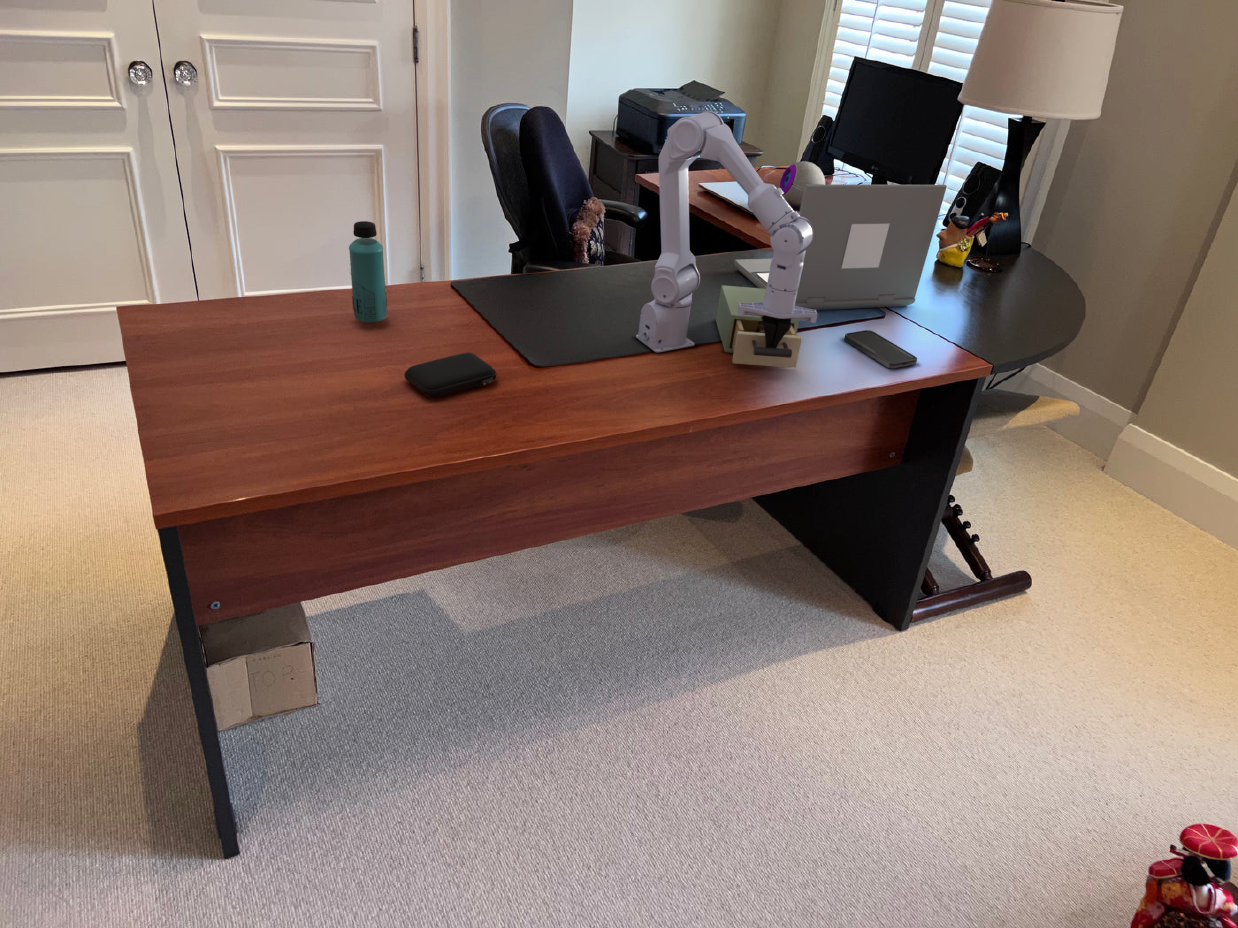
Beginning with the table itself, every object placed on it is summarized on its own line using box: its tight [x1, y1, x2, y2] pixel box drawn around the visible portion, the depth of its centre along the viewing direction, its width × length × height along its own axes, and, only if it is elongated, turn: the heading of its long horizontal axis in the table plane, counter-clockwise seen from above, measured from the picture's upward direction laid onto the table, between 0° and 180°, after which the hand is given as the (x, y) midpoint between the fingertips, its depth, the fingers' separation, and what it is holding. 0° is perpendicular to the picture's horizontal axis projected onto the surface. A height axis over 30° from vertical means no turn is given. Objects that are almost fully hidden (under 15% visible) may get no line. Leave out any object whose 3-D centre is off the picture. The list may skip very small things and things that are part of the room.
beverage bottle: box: [348, 220, 388, 323], centre depth 172 cm, size 6×7×20 cm
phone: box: [843, 329, 918, 370], centre depth 189 cm, size 8×1×15 cm
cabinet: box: [715, 284, 800, 354], centre depth 187 cm, size 16×14×8 cm
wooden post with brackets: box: [755, 321, 765, 333], centre depth 180 cm, size 2×8×4 cm, turn 9°
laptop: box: [733, 183, 948, 311], centre depth 210 cm, size 35×26×28 cm
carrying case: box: [404, 352, 498, 399], centre depth 159 cm, size 11×3×15 cm
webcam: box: [779, 160, 826, 214], centre depth 264 cm, size 13×13×15 cm
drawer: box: [731, 319, 803, 369], centre depth 178 cm, size 20×12×6 cm, turn 2°
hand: (769, 353), depth 173 cm, fingers closed
